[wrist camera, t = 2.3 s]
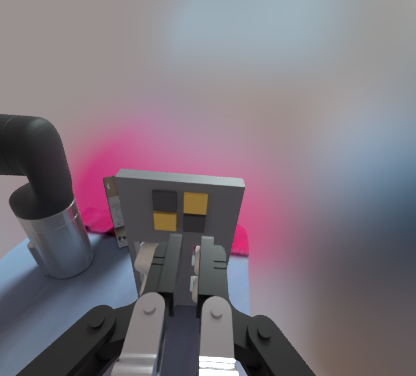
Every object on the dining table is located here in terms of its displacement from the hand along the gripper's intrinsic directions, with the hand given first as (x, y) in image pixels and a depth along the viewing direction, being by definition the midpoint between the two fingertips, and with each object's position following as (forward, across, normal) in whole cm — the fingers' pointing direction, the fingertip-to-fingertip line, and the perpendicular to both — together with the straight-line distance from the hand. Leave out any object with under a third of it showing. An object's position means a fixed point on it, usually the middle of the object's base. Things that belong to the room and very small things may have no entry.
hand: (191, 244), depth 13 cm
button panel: (+17, +2, +34) cm, 38 cm away
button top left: (+13, +7, +20) cm, 25 cm away
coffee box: (+31, +18, +34) cm, 50 cm away
